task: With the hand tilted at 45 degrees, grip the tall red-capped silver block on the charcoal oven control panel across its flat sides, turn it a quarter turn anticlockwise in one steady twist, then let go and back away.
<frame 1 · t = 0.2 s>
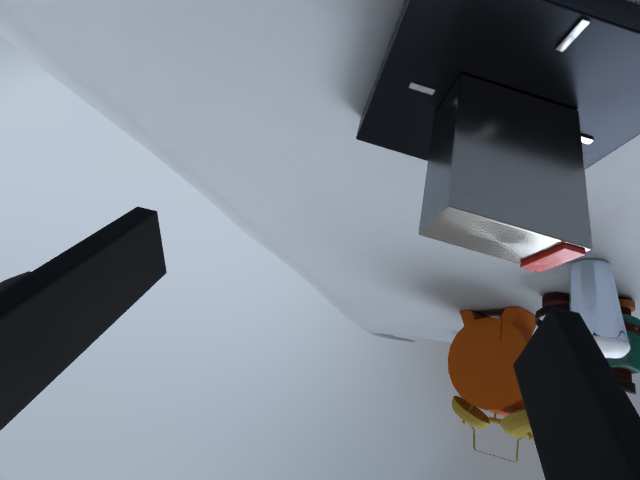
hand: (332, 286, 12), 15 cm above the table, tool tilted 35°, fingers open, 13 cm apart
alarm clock: (498, 313, 55), on the table
binoculars: (578, 293, 42), on the table
red-capped silver block: (500, 173, 17), point 6 cm above the table, hinge at 0.0°
milkshake: (584, 263, 35), on the table
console: (502, 86, 20), on the table
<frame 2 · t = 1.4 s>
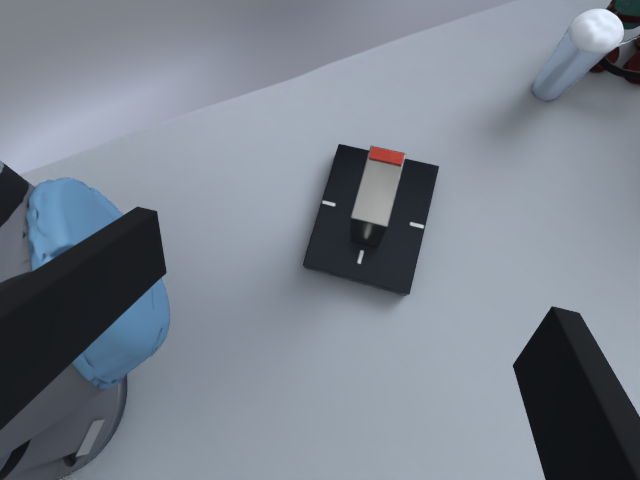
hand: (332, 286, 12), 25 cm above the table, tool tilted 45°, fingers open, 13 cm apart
binoculars: (617, 62, 40), on the table
red-capped silver block: (375, 201, 31), point 6 cm above the table, hinge at 0.0°
milkshake: (548, 92, 39), on the table
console: (370, 220, 37), on the table
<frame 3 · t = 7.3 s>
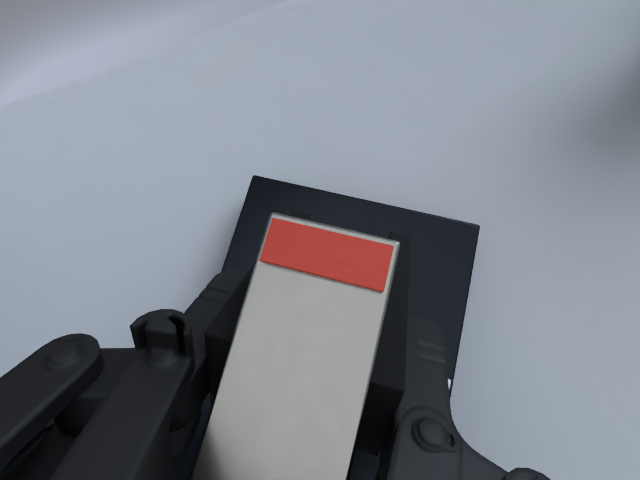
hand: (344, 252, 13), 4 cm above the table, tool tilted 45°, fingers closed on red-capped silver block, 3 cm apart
red-capped silver block: (313, 356, 11), point 6 cm above the table, hinge at 0.3°, touching gripper
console: (326, 344, 17), on the table
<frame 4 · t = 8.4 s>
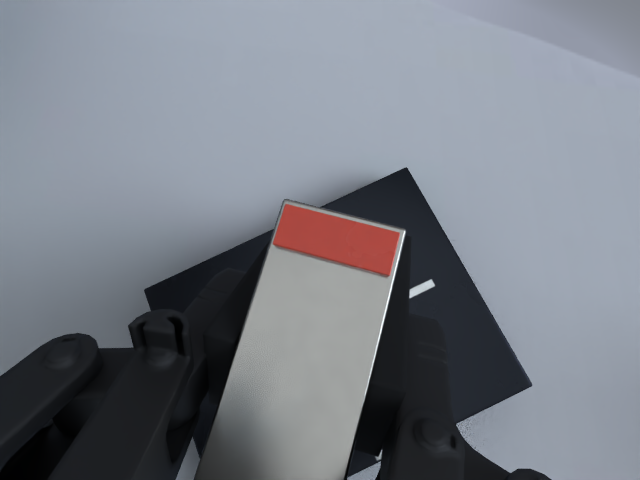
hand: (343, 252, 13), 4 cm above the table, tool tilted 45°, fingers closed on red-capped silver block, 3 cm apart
red-capped silver block: (318, 340, 11), point 6 cm above the table, hinge at 49.2°, touching gripper
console: (327, 332, 17), on the table
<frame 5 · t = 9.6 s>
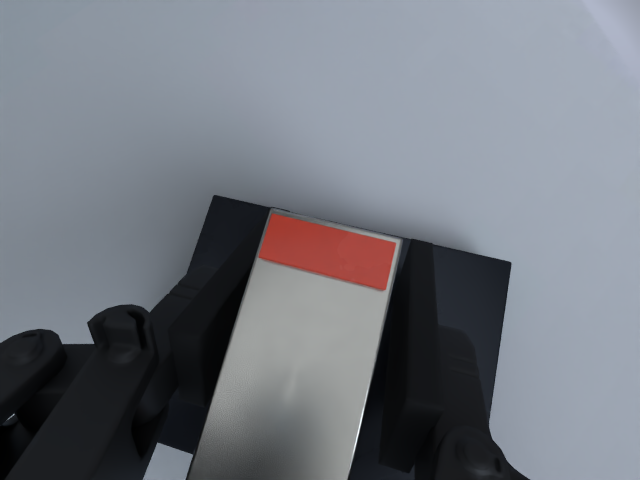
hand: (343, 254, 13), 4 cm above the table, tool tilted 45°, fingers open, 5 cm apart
red-capped silver block: (313, 356, 10), point 6 cm above the table, hinge at 89.5°
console: (326, 344, 16), on the table
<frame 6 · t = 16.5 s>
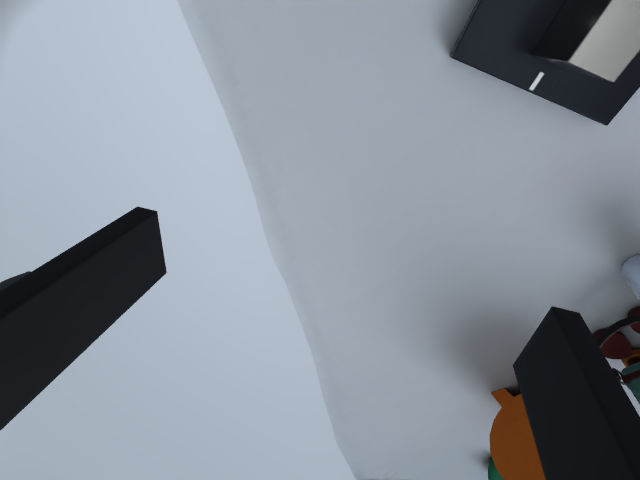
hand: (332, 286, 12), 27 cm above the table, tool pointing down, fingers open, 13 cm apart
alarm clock: (536, 392, 47), on the table
binoculars: (629, 330, 39), on the table
red-capped silver block: (605, 14, 22), point 6 cm above the table, hinge at 89.5°
milkshake: (633, 267, 35), on the table
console: (569, 17, 27), on the table
gaming controller: (515, 469, 57), on the table
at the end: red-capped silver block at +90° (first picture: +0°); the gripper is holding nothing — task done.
